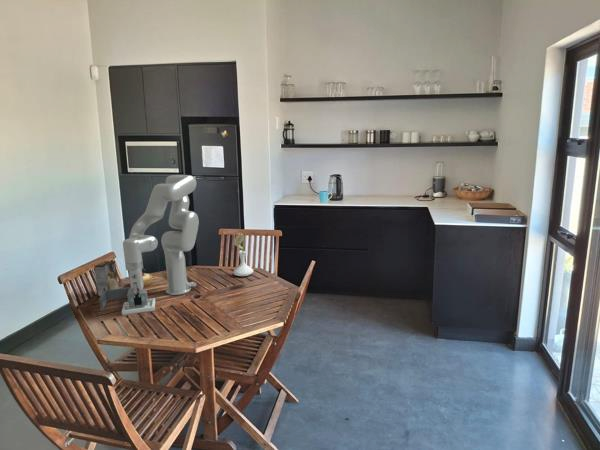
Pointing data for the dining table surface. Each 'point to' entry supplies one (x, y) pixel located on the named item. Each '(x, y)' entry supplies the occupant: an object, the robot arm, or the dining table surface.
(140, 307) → the tray
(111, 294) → the bay
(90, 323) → the dining table surface
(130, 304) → the grey chamfered block
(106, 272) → the coffee box
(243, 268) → the flower in vase
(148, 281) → the pastry
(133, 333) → the dining table surface
